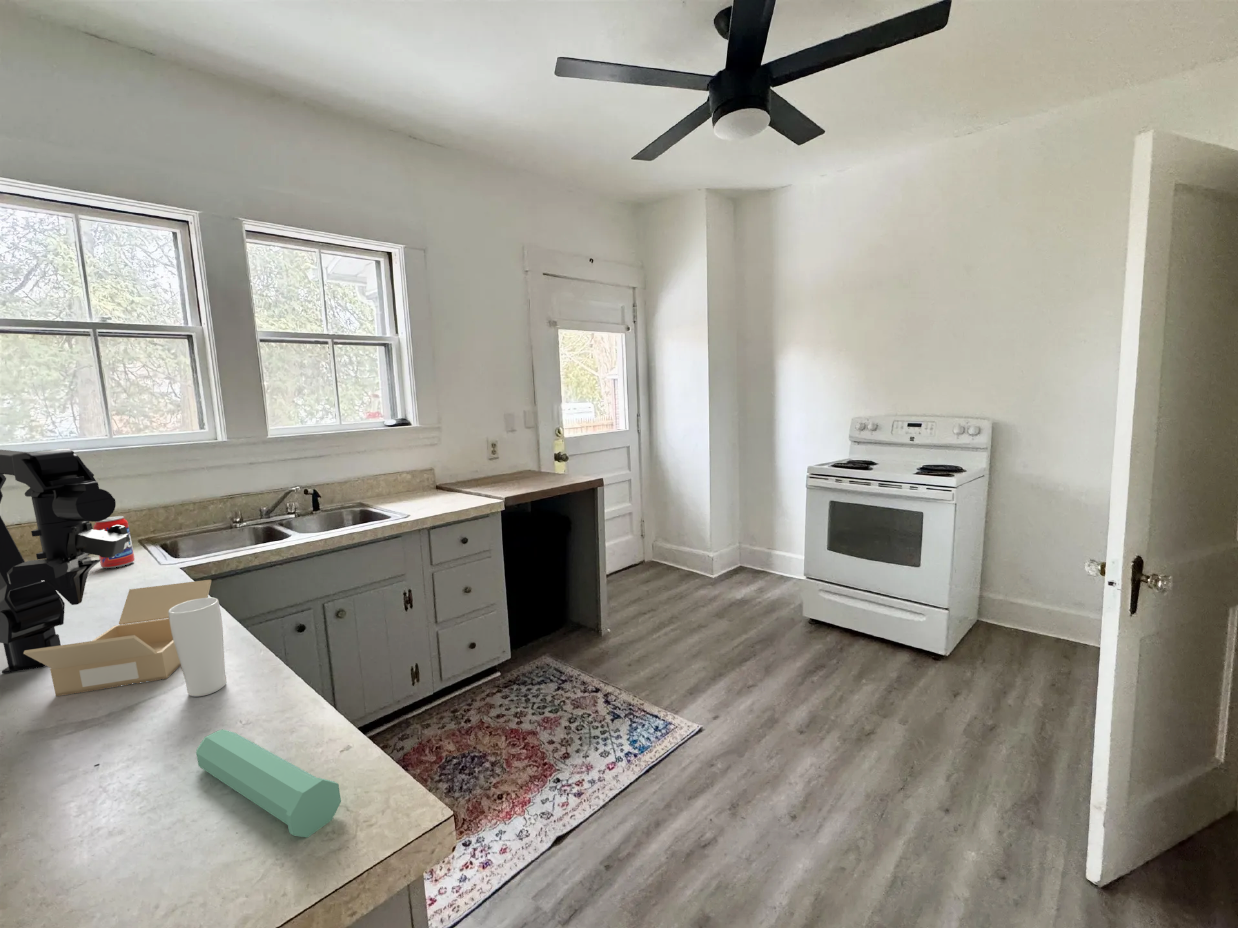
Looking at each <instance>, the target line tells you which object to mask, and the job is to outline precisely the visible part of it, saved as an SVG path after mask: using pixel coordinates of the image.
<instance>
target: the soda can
mask: <svg viewBox="0 0 1238 928" xmlns="http://www.w3.org/2000/svg"><path fill="white" fill-rule="evenodd" d="M115 525H122V526H125V527H126V530H127V533H128V534H129V535H128V537H129V538H130V541H129V542H126V543H125V546H124V550H123V552H122V553H118V554H116V555H115V556H114V557H110V558H105V557H100V556H99V555H98V558H99V559H98V560H100V562H99V564H100V567H101V568H103V569H107V568H113V569H117V568H116V567H119V568H123V567H126V566H125V565H127V566H129V565H131V564H132V563H133V562H135V560H136V559H135V552H134V548H133V547H134V546H133V544H132V543H133V542H132V537H131V532H130V525H129V522H128V520H127V519H126V518H125V516H123V515H116V516H109V517H108V518H107V519H105V520H102V521H98V522H95V523H94V524H93V525H92V528H93V530H103V529H104V530H106V531H107V530H108V529H109V528H110V527H112V526H115ZM122 566H123V567H122Z"/></svg>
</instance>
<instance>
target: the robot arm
mask: <svg viewBox="0 0 1238 928" xmlns="http://www.w3.org/2000/svg"><path fill="white" fill-rule="evenodd" d="M5 475H7V476H14V479H15V481H16V482H19V483H21V484H23V485H24V484H25V485H26V486H28V487H29V489H27V490H26V491H25V493H24V495H25V497H27V498H29V497H31V501H32V506H33V512H34V517H35V521H36V527H37V528H36V529H33V530H31V531H30V532H31V536H32V537H39V541H40V546H41V550H42V551H40V552H38V553H35V556H36V559H33V560H27V561H25V558H24V557H23V555H22V554H21V552H20V550H19V548H18V547H17V544H16V542H15V539H14V538H13V536H12V535H11V533H10V530H9V529H8V527H7V526H6V524H5V522H4V520H3V518H2V516H1V515H0V644H3V649H4V653H5V657H6V662H7V667H6V668H3V669H2V670H1V673H2V674H8V673H15V672H19V671H20V672H21V671H27V670H35V669H39V668H40V669H42V668H45V667H47V666H46V665H44V664H42V663H40V662H39V661H37V660H35V659H33V658H31V657H29V656H27V655H25V654H23V653H24V651H25V650H31V649H39V648H46V647H53V646H60V645H62V644H61V640H60V635H59V634H57V633H56V629H55V628H56V627H58V626H62V625H64V623H65V622H64V621H65V608H66V607H65V606H66V605H65V604H66V603H65V602H64V600H63V598H64V599H65V600H66V601H67V602H68V604H70V605H71V606H76V605H80V604H81V603H83V597H84V593H85V588H86V583H87V579H88V575H89V573H90V571H91V570H92V569H93V568H94V567H95V566H96V565H97V564H100V560H99V559H92V557H91V556H89V555H95V556H98V557H99V556H100V557H105V558H110V557H114V556H115V555H116V554H118V553H122V552H123V550H124V546H125V543H126V542H129V541H130V538H129V537H128V535H129V534H128V533H127V530H126V527H125V526H122V525H115V526H112V527H110V528H109V529H108V530H107V531H106V530H104V529H103V530H94V528H93V524H92V523H94V522H95V523H96V522H98V521H102V520H105V519H107V518H108V517H111V515H112V514H114V512H115V509H116V506H117V505H116V503H117V501H116V498H114V496H113V495H112V493H110V492H109V491H107V490H106V489H102V488H100V487H99V486H100V484H99V482H98V481H97V480H96V478H95V477H94V476H95V474H94V473H93V472H92V471H91V470H90V468H88V467H87V465H86V464H85V463H84V462H83V461H82V459H81V458H80V456H79V455H77V454H75V452H74V450H72V449H70V448H68V447H67V448H58V449H57V448H56V449H46V450H37V451H19V450H9V449H8V450H7V449H0V504H1V502H2V500H3V497H4V496H3V492H2V488H3V486H4V484H5V483H6V481H7V477H6V476H5Z"/></svg>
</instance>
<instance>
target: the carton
mask: <svg viewBox="0 0 1238 928" xmlns="http://www.w3.org/2000/svg"><path fill="white" fill-rule="evenodd" d="M131 635H135V636H137V637H138V638H139V639H141V640H142V641H143V642H145V643H146V644H147V645H149V646H150V647H152V648H153V649H154V650H156V651H157V653H156V654H154V655H147V656H140V657H134V658H127V659H120V660H114V661H107V662H100V663H94V664H87V665H80V666H73V667H67V668H60V669H52V668H49V670H50V675H51V680H52V684H53V689H54V694H55V697H61V696H62V697H63V696H66V695H73V694H74V693H75V694H80V692H81V693H87V692H92V691H93V690H94V691H100V690H105V689H104V688H106V689H111V687H112V688H117V687H118V686H119V687H122V686H121V685H125V686H129V685H128V684H131V685H133V684H132V683H137V684H141V683H140V682H144V683H147V682H146V681H150V682H155V681H161V679H162V680H167V679H168V678H169V677H171V675H172V674H173V673H175V671H176V670H178V668H180V667H181V664H180V661H179V658H178V654H177V651H176V648H175V644H174V641H173V637H172V633H171V628H170V622H169V618H166V619H158V620H151V621H143V622H136V623H129V624H121V625H120V624H117V625H113V626H112V627H110V628H108V630H106V631H104V632H103V633H101V634H100V635H99V636H96V638H94V639H92V640H91V641H96V640H103V639H110V638H117V637H124V636H131Z"/></svg>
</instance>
